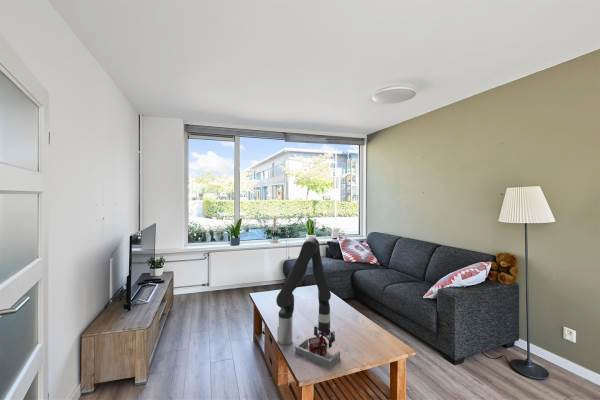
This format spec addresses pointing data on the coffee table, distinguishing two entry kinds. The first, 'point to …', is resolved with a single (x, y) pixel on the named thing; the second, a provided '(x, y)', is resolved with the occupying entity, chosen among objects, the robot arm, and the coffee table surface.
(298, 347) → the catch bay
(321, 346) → the toy fire truck
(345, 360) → the coffee table surface
